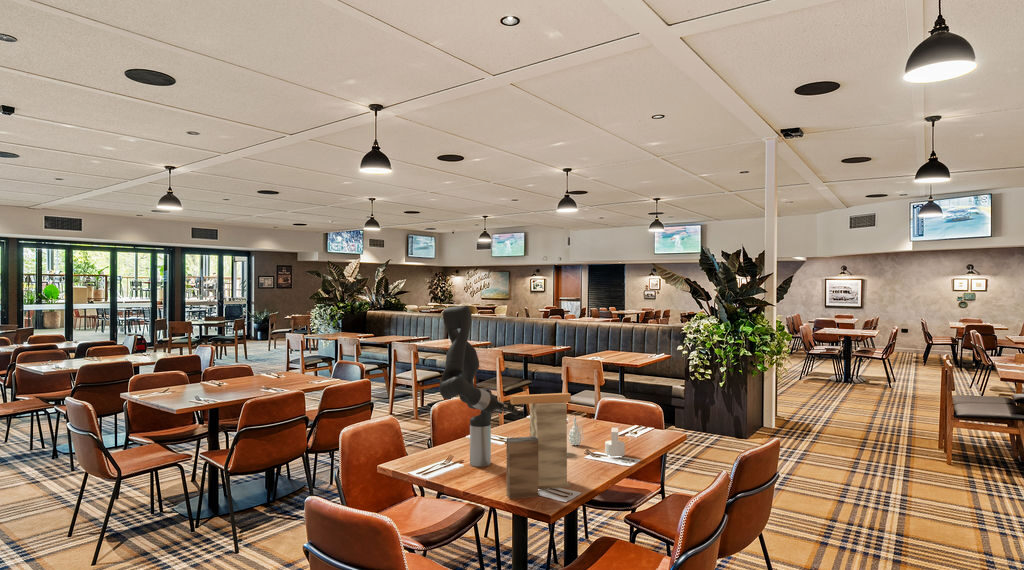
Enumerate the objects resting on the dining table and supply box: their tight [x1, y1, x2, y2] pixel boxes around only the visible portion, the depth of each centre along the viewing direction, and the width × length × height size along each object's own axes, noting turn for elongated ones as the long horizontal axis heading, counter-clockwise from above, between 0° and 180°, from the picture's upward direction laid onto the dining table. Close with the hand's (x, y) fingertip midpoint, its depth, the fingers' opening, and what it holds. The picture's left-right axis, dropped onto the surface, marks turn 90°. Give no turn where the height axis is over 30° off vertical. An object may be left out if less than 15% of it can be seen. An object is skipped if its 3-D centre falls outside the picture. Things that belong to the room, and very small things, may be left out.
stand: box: [529, 402, 571, 490], centre depth 220 cm, size 12×14×32 cm
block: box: [506, 436, 539, 500], centre depth 206 cm, size 4×11×21 cm, turn 104°
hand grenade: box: [568, 416, 585, 446], centre depth 276 cm, size 8×6×14 cm
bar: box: [509, 392, 572, 406], centre depth 219 cm, size 3×24×3 cm, turn 104°
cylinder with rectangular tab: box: [604, 427, 626, 456], centre depth 258 cm, size 9×9×12 cm
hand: (509, 411), depth 229 cm, fingers open, 8 cm apart
